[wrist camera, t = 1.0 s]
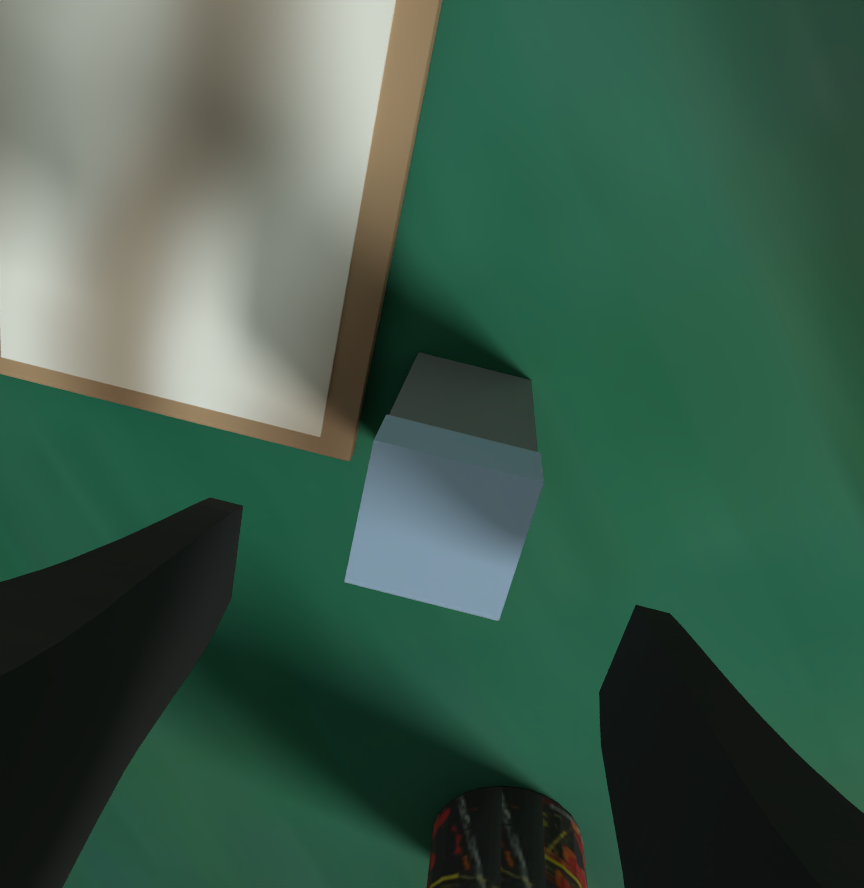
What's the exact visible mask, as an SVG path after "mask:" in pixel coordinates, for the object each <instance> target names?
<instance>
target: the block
mask: <svg viewBox="0 0 864 888" xmlns="http://www.w3.org/2000/svg"><path fill="white" fill-rule="evenodd" d="M543 483H544V480H543V470H542V460H541V453H539V452H538V450H537V439H536V428H535V416H534V405H533V394H532V383H531V380H529V379H525V378H521V377H517V376H513V375H509V374H505V373H501V372H497V371H493V370H489V369H485V368H480V367H476V366H472V365H468V364H464V363H460V362H456V361H452V360H448V359H444V358H440V357H436V356H432V355H428V354H424V353H420V352H419V353H418V355H417V357H416V359H415V361H414V363H413V365H412V367H411V369H410V372H409V374H408V376H407V378H406V380H405V382H404V384H403V386H402V389H401V391H400V393H399V395H398V397H397V399H396V401H395V403H394V405H393V408H392V410H391V412H390V414H389V415H387V414H386V416H385V418H384V420H383V422H382V424H381V426H380V428H379V431H378V433H377V435H376V437H375V439H374V442H373V447H372V452H371V456H370V461H369V466H368V471H367V476H366V481H365V485H364V490H363V495H362V500H361V505H360V510H359V514H358V519H357V524H356V529H355V534H354V538H353V543H352V548H351V553H350V558H349V563H348V567H347V572H346V577H345V582H346V583H350V584H354V585H358V586H362V587H366V588H370V589H374V590H378V591H382V592H386V593H390V594H394V595H398V596H402V597H406V598H410V599H414V600H418V601H422V602H426V603H429V604H433V605H437V606H441V607H445V608H449V609H453V610H457V611H461V612H465V613H469V614H473V615H477V616H481V617H485V618H489V619H493V620H497V621H499V619H500V616H501V612H502V609H503V606H504V603H505V600H506V597H507V594H508V591H509V588H510V585H511V582H512V579H513V575H514V572H515V569H516V566H517V563H518V560H519V557H520V554H521V551H522V548H523V545H524V542H525V539H526V535H527V532H528V529H529V526H530V523H531V520H532V517H533V514H534V511H535V508H536V505H537V502H538V499H539V495H540V492H541V489H542V486H543Z"/></svg>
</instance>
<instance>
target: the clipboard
mask: <svg viewBox="0 0 864 888" xmlns="http://www.w3.org/2000/svg"><path fill="white" fill-rule="evenodd" d="M441 4H442V0H0V374H3V375H7V376H11V377H15V378H19V379H23V380H27V381H31V382H35V383H39V384H43V385H47V386H51V387H55V388H59V389H63V390H67V391H71V392H75V393H79V394H83V395H87V396H91V397H95V398H99V399H103V400H107V401H111V402H115V403H119V404H123V405H127V406H131V407H135V408H139V409H143V410H147V411H151V412H155V413H159V414H163V415H167V416H170V417H174V418H178V419H182V420H186V421H190V422H194V423H198V424H202V425H206V426H210V427H214V428H218V429H222V430H226V431H230V432H234V433H238V434H242V435H246V436H250V437H254V438H258V439H262V440H266V441H270V442H274V443H278V444H282V445H286V446H290V447H294V448H298V449H302V450H306V451H310V452H314V453H318V454H322V455H326V456H330V457H334V458H338V459H342V460H346V461H350V459H351V458H352V456H353V454H354V449H355V444H356V439H357V434H358V429H359V423H360V418H361V413H362V408H363V403H364V398H365V393H366V388H367V383H368V377H369V372H370V367H371V362H372V357H373V352H374V347H375V342H376V337H377V331H378V326H379V321H380V316H381V311H382V306H383V301H384V296H385V291H386V286H387V280H388V275H389V270H390V265H391V260H392V255H393V250H394V245H395V240H396V234H397V229H398V224H399V219H400V214H401V209H402V204H403V199H404V194H405V188H406V183H407V178H408V173H409V168H410V163H411V158H412V153H413V148H414V142H415V137H416V132H417V127H418V122H419V117H420V112H421V107H422V102H423V96H424V91H425V86H426V81H427V76H428V71H429V66H430V61H431V56H432V50H433V45H434V40H435V35H436V30H437V25H438V20H439V15H440V10H441Z"/></svg>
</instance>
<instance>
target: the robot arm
mask: <svg viewBox="0 0 864 888" xmlns="http://www.w3.org/2000/svg"><path fill="white" fill-rule="evenodd" d="M242 510H243V506H242V505H238V504H234V503H230V502H226V501H222V500H218V499H214V498H208V499H206V500H203V501H201V502H199V503H196V504H194V505H192V506H190V507H188V508H186V509H184V510H182V511H180V512H177V513H175V514H173V515H171V516H169V517H167V518H165V519H163V520H161V521H159V522H156V523H154V524H152V525H150V526H148V527H146V528H144V529H141V530H139V531H137V532H135V533H133V534H131V535H128V536H126V537H124V538H122V539H119V540H117V541H114V542H112V543H109V544H107V545H105V546H102V547H100V548H97V549H95V550H92V551H90V552H87V553H85V554H82V555H80V556H77V557H75V558H73V559H70V560H67V561H65V562H62V563H59V564H56V565H53V566H50V567H47V568H45V569H42V570H39V571H35V572H32V573H29V574H26V575H22V576H19V577H16V578H13V579H9V580H6V581H3V582H0V888H62V887H63V885H64V883H65V881H66V879H67V877H68V876H69V874H70V872H71V870H72V868H73V866H74V864H75V862H76V860H77V858H78V856H79V854H80V852H81V851H82V849H83V847H84V845H85V843H86V841H87V839H88V837H89V835H90V833H91V831H92V829H93V827H94V826H95V824H96V822H97V820H98V818H99V816H100V815H101V813H102V811H103V809H104V807H105V805H106V804H107V802H108V800H109V798H110V796H111V794H112V792H113V791H114V789H115V787H116V785H117V783H118V781H119V780H120V778H121V776H122V774H123V772H124V771H125V769H126V767H127V766H128V764H129V763H130V761H131V759H132V758H133V756H134V754H135V753H136V751H137V750H138V748H139V746H140V745H141V744H142V742H143V741H144V739H145V738H146V736H147V735H148V733H149V732H150V730H151V729H152V727H153V726H154V724H155V723H156V721H157V720H158V719H159V717H160V716H161V714H162V713H163V711H164V710H165V708H166V707H167V705H168V704H169V702H170V701H171V699H172V698H173V696H174V695H175V694H176V692H177V691H178V689H179V688H180V686H181V685H182V683H183V682H184V680H185V679H186V677H187V676H188V674H189V673H190V671H191V670H192V668H193V667H194V665H195V664H196V662H197V661H198V659H199V658H200V656H201V655H202V653H203V652H204V650H205V649H206V647H207V646H208V644H209V642H210V640H211V638H212V636H213V634H214V632H215V630H216V628H217V626H218V624H219V622H220V620H221V618H222V616H223V614H224V612H225V610H226V608H227V606H228V604H229V602H230V600H231V596H232V588H233V580H234V573H235V565H236V557H237V549H238V541H239V534H240V526H241V518H242ZM599 699H600V733H601V748H602V754H603V761H604V767H605V773H606V779H607V785H608V791H609V796H610V802H611V808H612V814H613V819H614V825H615V831H616V836H617V842H618V848H619V854H620V859H621V865H622V871H623V878H624V886H625V888H864V813H862V812H861V811H860V810H859V809H858V808H857V807H855V806H854V805H853V804H852V803H851V802H849V801H848V800H847V799H846V798H845V797H844V796H843V795H841V794H840V793H839V792H838V791H837V790H836V789H835V788H834V787H833V786H832V785H830V784H829V783H828V782H827V781H826V780H825V779H824V778H823V777H822V776H821V775H819V774H818V773H817V772H816V771H815V770H814V769H813V768H812V767H811V766H809V765H808V764H807V763H806V762H805V761H804V760H803V759H802V758H801V757H800V756H799V755H798V754H797V753H796V752H795V751H794V750H793V749H792V748H791V747H790V746H789V745H788V744H787V743H786V742H785V741H784V740H783V739H782V738H781V737H780V736H779V735H778V734H777V733H776V732H775V731H774V730H773V729H772V727H771V726H770V725H769V724H768V723H767V722H766V721H765V720H764V719H763V718H762V717H761V716H760V715H759V714H758V713H757V712H756V711H755V709H754V708H753V707H752V706H751V705H750V704H749V703H748V702H747V701H746V700H745V699H744V697H743V696H742V695H741V694H740V693H739V692H738V691H737V690H736V688H735V687H734V686H733V685H732V684H731V683H730V682H729V680H728V679H727V678H726V677H725V676H724V675H723V673H722V672H721V671H720V670H719V669H718V668H717V667H716V665H715V664H714V663H713V662H712V661H711V659H710V658H709V657H708V656H707V655H706V654H705V652H704V651H703V650H702V649H701V648H700V647H699V645H698V644H697V643H696V642H695V641H694V640H693V638H692V637H691V636H690V635H689V634H688V633H687V631H686V630H685V629H684V628H683V627H682V626H681V625H680V624H679V623H678V622H677V620H676V619H675V618H674V617H673V616H672V615H671V614H670V613H666V612H662V611H658V610H654V609H650V608H646V607H642V606H638V605H636V606H635V608H634V611H633V613H632V615H631V618H630V620H629V622H628V625H627V627H626V630H625V632H624V634H623V637H622V639H621V641H620V644H619V646H618V649H617V651H616V653H615V656H614V658H613V661H612V663H611V665H610V668H609V670H608V672H607V675H606V677H605V680H604V682H603V684H602V687H601V689H600V692H599Z"/></svg>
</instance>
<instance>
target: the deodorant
mask: <svg viewBox="0 0 864 888" xmlns="http://www.w3.org/2000/svg"><path fill="white" fill-rule="evenodd" d="M427 888H587V879H586V869H585V860H584V850H583V842H582V837H581V832H580V828H579V827H578V825H577V824H576V822H575V820H574V819H573V817H572V815H570V814H569V813H568V812H567V811H566V810H565V809H564V808H563V807H562V806H561V805H559V804H558V803H556V802H555V801H553V800H551V799H549V798H547V797H545V796H544V795H542V794H539V793H535V792H532V791H529V790H526V789H522V788H513V787H504V786H499V787H488V788H480V789H477V790H474V791H471V792H467V793H464V794H462V795H461V796H459V797H457V798H456V799H454V800H452V801H450V802H449V803H448V804H447V805H446V806H445V808H444V809H443V810H442V811H441V812H440V813H439V815H438V817H437V820H436V822H435V824H434V828H433V837H432V846H431V854H430V863H429V871H428V880H427Z"/></svg>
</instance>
